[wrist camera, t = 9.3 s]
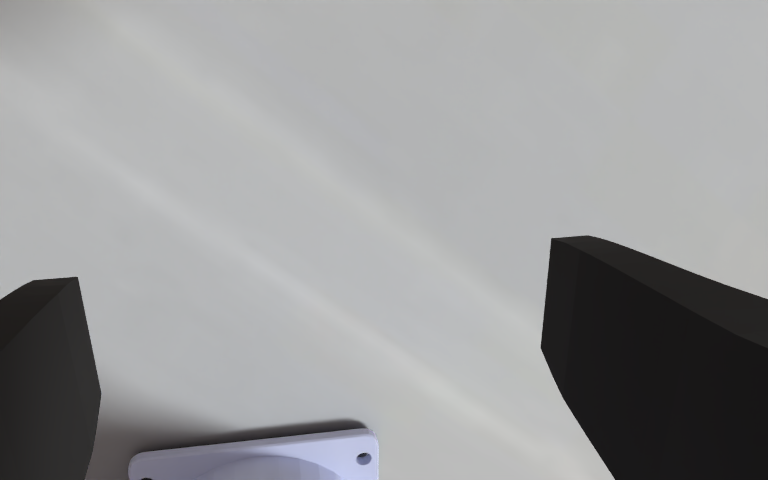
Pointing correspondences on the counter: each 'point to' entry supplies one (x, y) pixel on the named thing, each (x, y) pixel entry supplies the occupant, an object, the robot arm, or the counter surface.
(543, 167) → the counter surface
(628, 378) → the robot arm
